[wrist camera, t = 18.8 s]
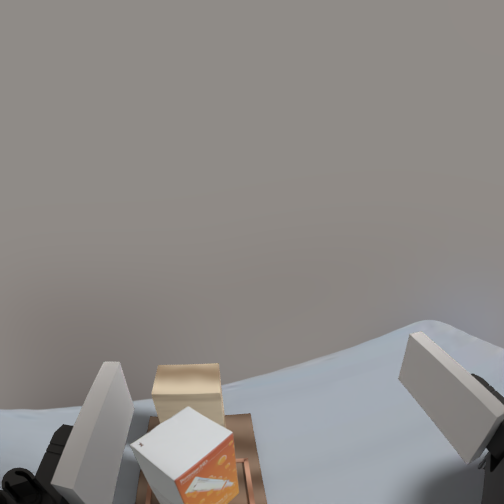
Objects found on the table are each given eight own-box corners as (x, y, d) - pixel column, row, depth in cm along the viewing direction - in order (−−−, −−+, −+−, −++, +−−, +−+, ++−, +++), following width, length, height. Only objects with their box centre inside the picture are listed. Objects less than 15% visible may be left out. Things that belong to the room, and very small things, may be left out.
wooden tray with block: (275, 549, 20) (281, 508, 17) (132, 549, 19) (86, 502, 15) (250, 417, 43) (247, 352, 40) (151, 420, 42) (133, 356, 38)
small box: (197, 532, 22) (173, 482, 18) (158, 503, 25) (127, 443, 22) (241, 492, 28) (234, 430, 25) (202, 469, 32) (186, 403, 28)
